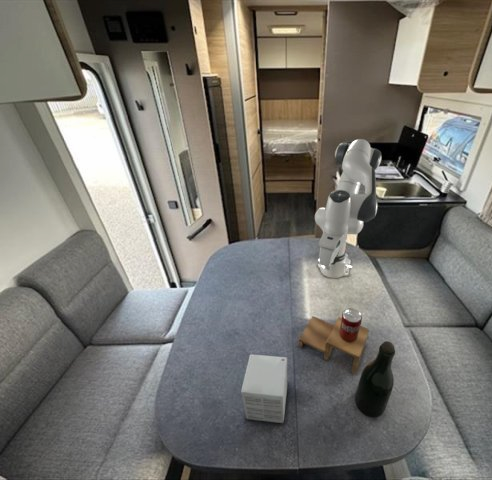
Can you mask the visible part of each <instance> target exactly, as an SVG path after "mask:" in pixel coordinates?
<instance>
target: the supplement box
mask: <svg viewBox="0 0 492 480" xmlns="http://www.w3.org/2000/svg"><path fill="white" fill-rule="evenodd" d="M247 361H248V362H247V366H246V370H245V374H244V378H243V382H242V386H241V389H240V390H241V391H240V393H241V398H242V403H243V408H244V413H245V419H247V420H253V421H262V422H271V423H277V424H278V423H280V424H284V421H285V411H286V403H287V395H288V394H287V393H288V386H289V385H288V380H289V379H288V357H285V356H273V355H263V354H262V355H261V354H249V358H248V360H247Z"/></svg>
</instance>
